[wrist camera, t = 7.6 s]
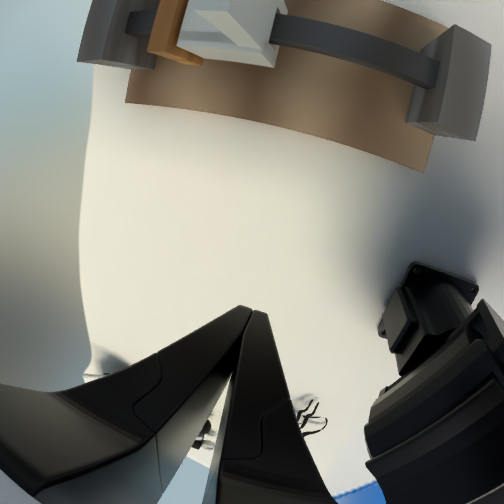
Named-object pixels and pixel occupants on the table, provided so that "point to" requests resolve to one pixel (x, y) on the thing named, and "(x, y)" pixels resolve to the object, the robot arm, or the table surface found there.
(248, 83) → the rail board
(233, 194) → the table surface
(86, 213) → the table surface
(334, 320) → the table surface
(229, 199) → the table surface
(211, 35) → the white l-bracket
